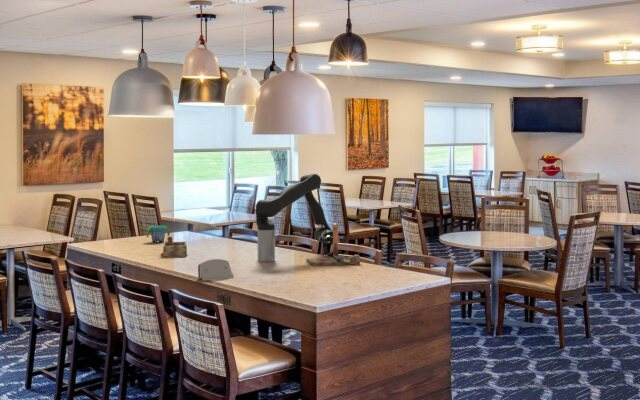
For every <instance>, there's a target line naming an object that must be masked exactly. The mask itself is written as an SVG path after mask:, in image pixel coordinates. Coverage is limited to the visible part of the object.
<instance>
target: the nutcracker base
mask: <svg viewBox="0 0 640 400" xmlns="http://www.w3.org/2000/svg"><path fill="white" fill-rule="evenodd" d="M305 260H306V263H307V264H308V265H309V266H311V267H327V266H329V267H330V266H352V265H351V264H360V265H361V263H360V262H361V261H360V255H359V254H353V255H352V256H351V255H350V256H349V257H348V256H347V257H346V256H344V261H343V262H341V261H336V258H335V257H317V258H315V257H313V258H306V259H305Z"/></svg>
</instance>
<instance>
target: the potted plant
mask: <svg viewBox="0 0 640 400" xmlns="http://www.w3.org/2000/svg"><path fill="white" fill-rule="evenodd" d="M166 230H167V237H170V234H171V233H170V231H171V230H170V229H169V227H168V226H166V225H150V226H149V227H148V228H147V230H146V232H145V234H146V238H147V239H148V238H149V231H150V236H151V237H150V238H151V241H152V242H153V241H163V242H165V238H166V237H165V236H166Z"/></svg>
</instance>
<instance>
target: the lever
mask: <svg viewBox="0 0 640 400" xmlns="http://www.w3.org/2000/svg"><path fill="white" fill-rule="evenodd" d="M331 225H332V226H331V228H332V232H333V244H332V254H333V258H336V261H341V262H343V261H344V257H345V255H340V254H339V242H338V236H339V228H340V225H339V224H338V223H333V224H331Z"/></svg>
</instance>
